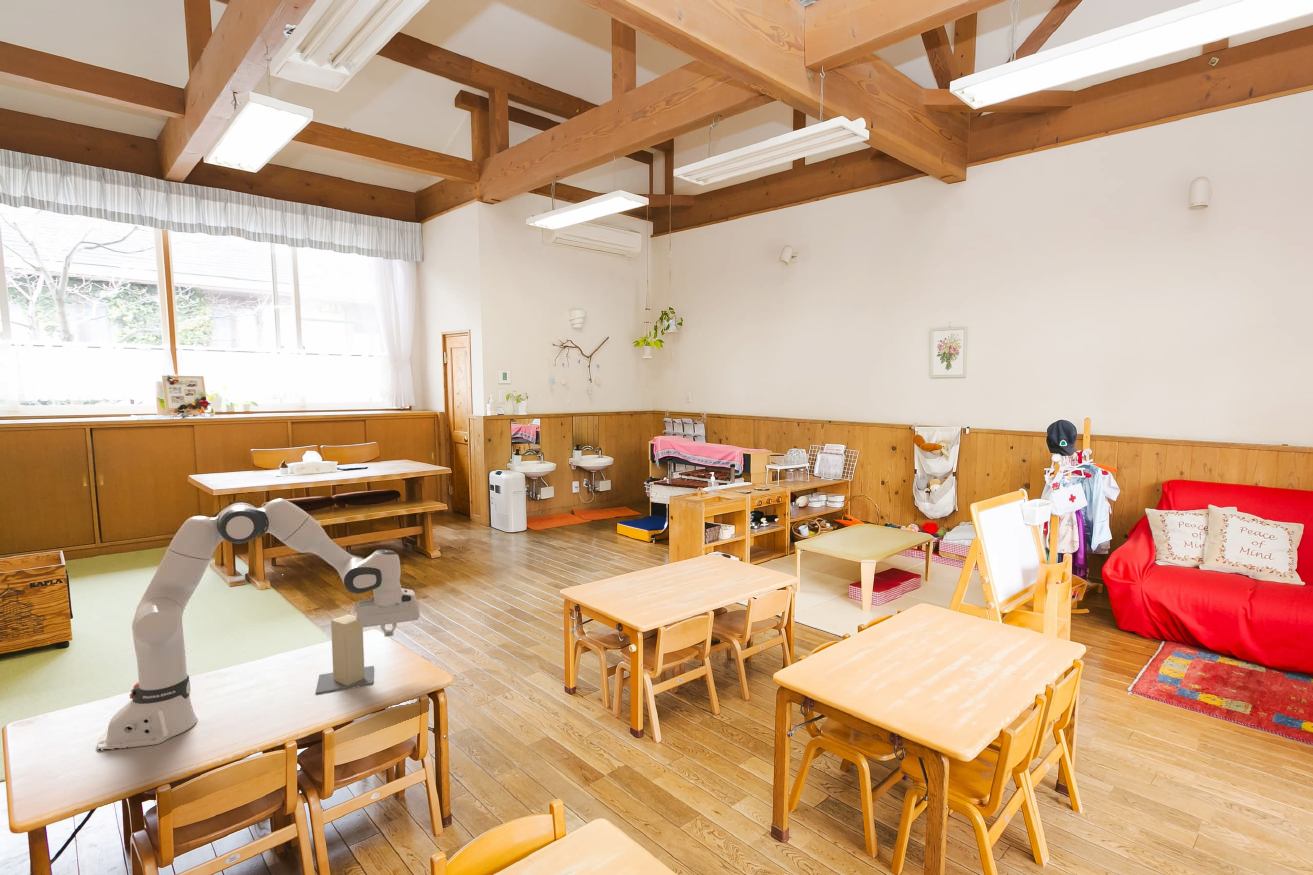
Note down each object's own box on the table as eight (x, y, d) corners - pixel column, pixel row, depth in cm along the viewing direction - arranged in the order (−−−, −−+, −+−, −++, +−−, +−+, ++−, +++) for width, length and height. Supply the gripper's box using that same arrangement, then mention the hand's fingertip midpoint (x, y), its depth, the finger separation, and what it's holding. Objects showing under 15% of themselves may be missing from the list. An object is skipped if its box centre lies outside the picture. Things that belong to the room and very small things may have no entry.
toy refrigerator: (367, 677, 215) (364, 617, 213) (347, 686, 209) (343, 624, 207) (353, 672, 219) (350, 613, 218) (333, 680, 213) (329, 619, 212)
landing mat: (315, 694, 205) (315, 692, 205) (319, 676, 218) (319, 674, 218) (372, 684, 212) (372, 682, 211) (373, 667, 224) (373, 665, 224)
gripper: (353, 603, 210) (355, 643, 211) (419, 595, 218) (420, 634, 219) (354, 597, 216) (356, 637, 217) (418, 590, 224) (419, 628, 225)
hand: (389, 635), depth 218 cm, fingers closed
